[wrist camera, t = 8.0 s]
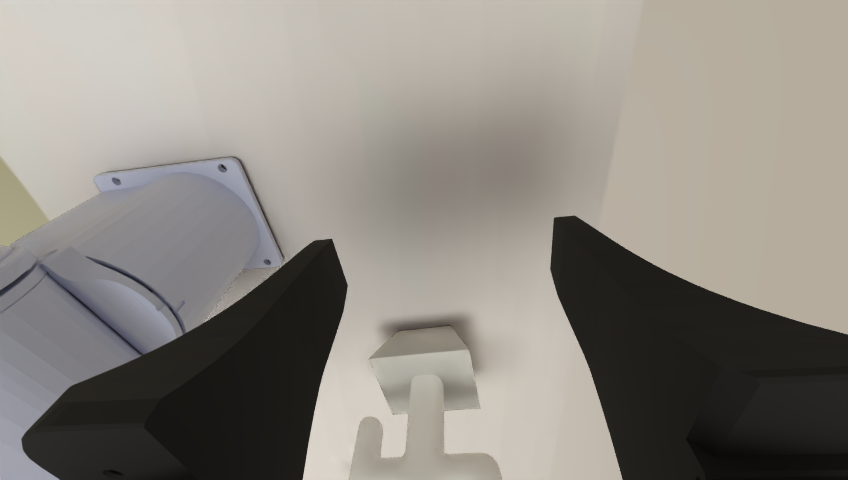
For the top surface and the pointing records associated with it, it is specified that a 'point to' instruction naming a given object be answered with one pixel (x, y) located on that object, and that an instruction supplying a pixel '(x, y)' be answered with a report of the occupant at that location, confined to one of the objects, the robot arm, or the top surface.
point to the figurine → (422, 409)
